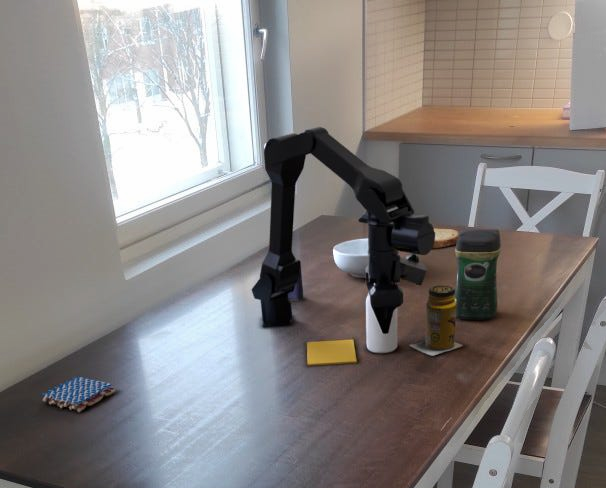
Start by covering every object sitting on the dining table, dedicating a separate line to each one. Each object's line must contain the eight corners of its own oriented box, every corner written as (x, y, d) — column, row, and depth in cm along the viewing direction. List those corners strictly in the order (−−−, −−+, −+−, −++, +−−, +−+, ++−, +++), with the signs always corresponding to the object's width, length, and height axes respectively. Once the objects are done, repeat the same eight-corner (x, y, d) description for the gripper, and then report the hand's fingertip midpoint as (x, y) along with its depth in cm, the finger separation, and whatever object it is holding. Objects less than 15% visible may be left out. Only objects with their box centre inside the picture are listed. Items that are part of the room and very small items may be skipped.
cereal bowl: (409, 267, 214) (409, 240, 210) (379, 286, 203) (379, 258, 198) (353, 261, 222) (353, 234, 218) (322, 279, 211) (320, 251, 207)
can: (364, 343, 172) (363, 288, 165) (394, 341, 172) (394, 285, 165) (369, 355, 167) (368, 298, 160) (400, 352, 167) (400, 295, 160)
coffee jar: (497, 309, 184) (504, 225, 173) (494, 322, 178) (501, 235, 167) (455, 308, 186) (458, 225, 176) (450, 320, 180) (454, 234, 169)
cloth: (307, 365, 164) (307, 364, 164) (307, 343, 174) (307, 342, 174) (356, 362, 164) (356, 361, 164) (353, 341, 174) (353, 339, 174)
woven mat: (80, 414, 152) (77, 404, 151) (41, 403, 157) (38, 394, 156) (117, 392, 159) (115, 382, 158) (79, 383, 164) (77, 374, 163)
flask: (266, 299, 200) (262, 255, 194) (270, 295, 202) (267, 252, 196) (301, 301, 197) (298, 256, 191) (305, 297, 200) (302, 253, 193)
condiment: (463, 346, 168) (466, 288, 161) (432, 356, 164) (433, 298, 157) (439, 336, 173) (441, 280, 166) (409, 346, 169) (409, 290, 162)
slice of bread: (466, 239, 232) (467, 226, 230) (429, 255, 222) (429, 241, 219) (416, 231, 242) (416, 218, 240) (378, 246, 232) (378, 233, 230)
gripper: (430, 258, 149) (428, 339, 158) (418, 232, 164) (417, 307, 173) (370, 262, 149) (371, 343, 158) (363, 236, 165) (365, 310, 173)
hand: (383, 325), depth 166 cm, fingers open, 9 cm apart
